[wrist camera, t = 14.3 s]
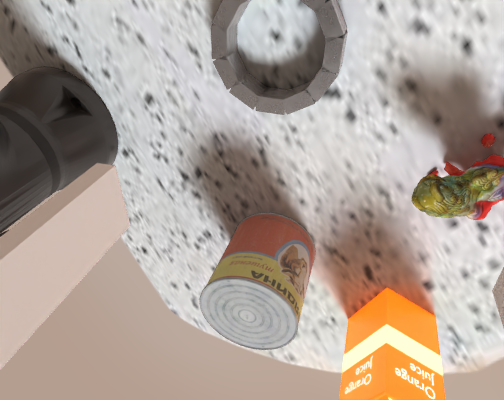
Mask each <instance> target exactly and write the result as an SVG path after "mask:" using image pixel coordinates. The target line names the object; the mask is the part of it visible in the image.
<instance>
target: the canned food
mask: <svg viewBox="0 0 504 400" xmlns="http://www.w3.org/2000/svg"><path fill="white" fill-rule="evenodd" d="M315 255H316V250H315V245H314V242H313V240H312V238H311V236H310V234H309V233H308V232H307V231H306V230H305V229H304V228H303V227H302V226H301V225H300V224H299V223H297V222H296V221H294V220H292V219H290V218H288V217H286V216H283V215H280V214H275V213H257V214H253V215H251V216H249V217H247V218H245V219H244V220H242V221H241V222H240V224H239V225H238V226H237V228H236V230H235V233H234V235H233V237H232V239H231V241H230V243H229V245H228V246H227V248H226V250H225V252H224V254H223V256H222V258H221V259H220V261H219V263H218V265H217V267H216V269H215V271H214V272H213V274H212V276H211V278H210V280H209V282H208V284H207V285H206V287H205V288H204V289H203V291H202V293H201V296H200V308H201V311H202V313H203V316H204V317H205V319H206V320H207V322H208V323H209V324H210V325H211V326H212V328H213V329H215V330H216V331H217V332H218V333H219V334H221V335H222V336H223V337H225V338H227V339H228V340H230V341H232V342H234V343H236V344H239V345H242V346H245V347H248V348H252V349H259V350H272V349H277V348H281V347H283V346H286V345H287V344H289V343H290V342H291V341H292V340H293V339H294V338H295V336H296V334H297V330H298V322H299V318H300V314H301V310H302V306H303V302H304V298H305V294H306V290H307V285H308V281H309V277H310V273H311V269H312V265H313V263H314V260H315Z"/></svg>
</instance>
